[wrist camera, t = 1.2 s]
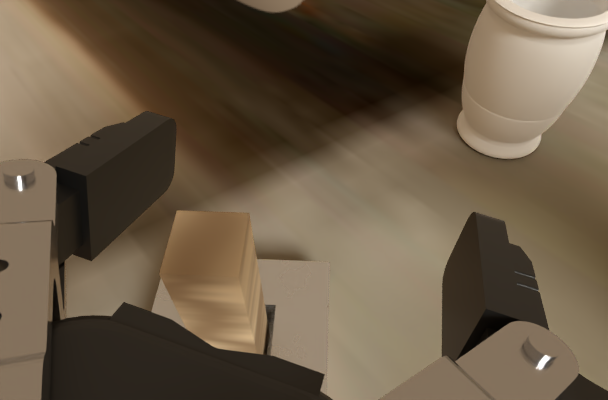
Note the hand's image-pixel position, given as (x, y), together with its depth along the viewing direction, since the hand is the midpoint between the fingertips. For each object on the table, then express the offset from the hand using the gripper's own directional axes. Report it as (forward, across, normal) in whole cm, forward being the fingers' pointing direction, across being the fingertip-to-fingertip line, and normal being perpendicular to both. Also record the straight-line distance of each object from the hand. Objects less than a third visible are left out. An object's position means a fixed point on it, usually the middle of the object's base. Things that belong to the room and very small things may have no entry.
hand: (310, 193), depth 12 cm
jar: (+39, -13, +10) cm, 42 cm away
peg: (+11, +3, +21) cm, 24 cm away
